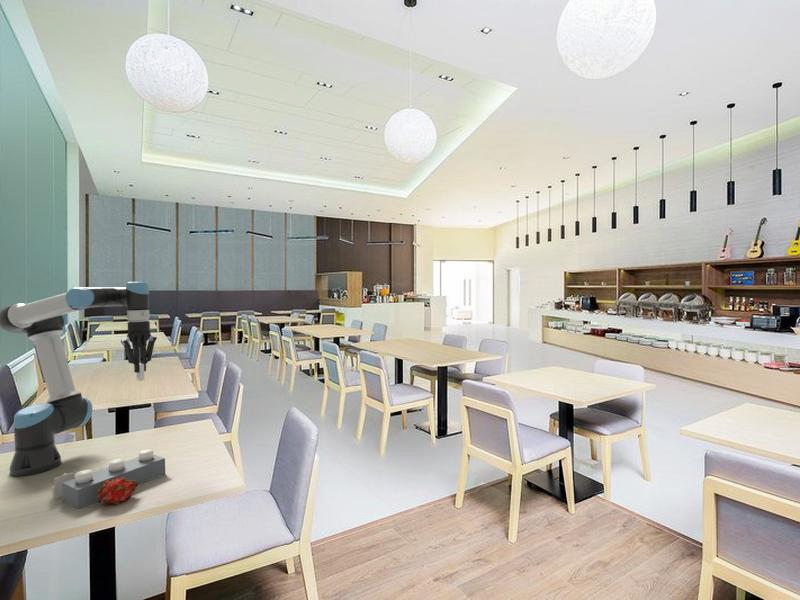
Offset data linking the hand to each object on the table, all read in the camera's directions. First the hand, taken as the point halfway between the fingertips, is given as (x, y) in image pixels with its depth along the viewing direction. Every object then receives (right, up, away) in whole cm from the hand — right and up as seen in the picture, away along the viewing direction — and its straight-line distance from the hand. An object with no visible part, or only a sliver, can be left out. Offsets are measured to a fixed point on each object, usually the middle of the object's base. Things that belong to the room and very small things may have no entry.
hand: (140, 380), depth 170 cm
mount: (+5, -33, -21) cm, 40 cm away
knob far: (+10, -32, -12) cm, 36 cm away
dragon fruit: (+12, -34, -31) cm, 47 cm away
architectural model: (-10, -34, -26) cm, 44 cm away
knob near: (0, -33, -30) cm, 44 cm away
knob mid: (+5, -32, -21) cm, 39 cm away
